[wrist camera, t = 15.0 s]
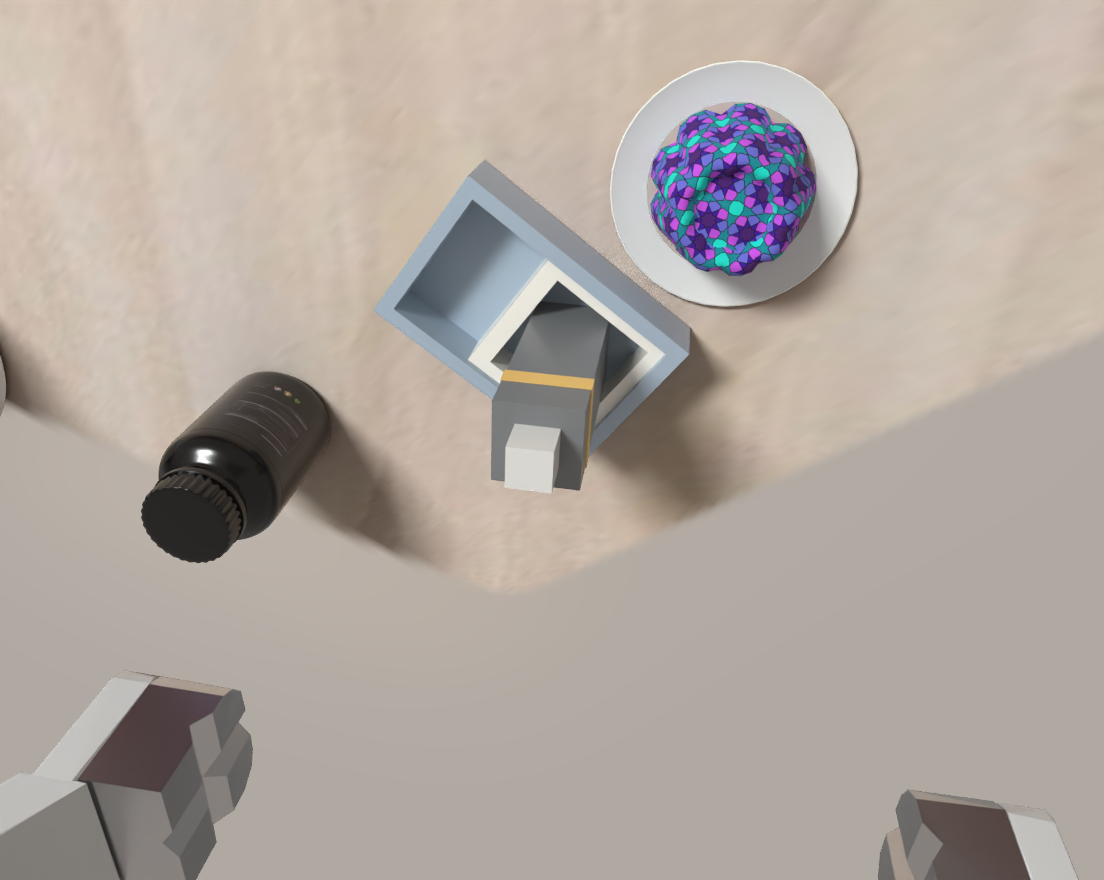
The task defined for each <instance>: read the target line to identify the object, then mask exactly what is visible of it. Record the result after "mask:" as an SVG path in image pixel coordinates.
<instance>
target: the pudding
mask: <svg viewBox="0 0 1104 880" xmlns="http://www.w3.org/2000/svg"><path fill="white" fill-rule="evenodd" d="M735 101H737V102H750V103H744V104H735V105H734V106H732V107H731V108H730V109H728V110H727V111H726V112H725V113H723V114H722V115H720V114H717V113H714V112H711V111H707V110H705V111H702V112H699V113H696V114H693V113H695V112H697V111H699V110H701V109H703V108H705V107H709V106H712V105H715V104H719V103H726V102H735ZM752 103H755V104H758V105H762V106H766V107H768V108H770V109H772V110H774V111H776V112H778V113H780V114H781V115H783V116H784V117H785V118H787V119H788V120H789V121H791V122H792V123H793V124H794V125H795V126H796V128H797V129H798V130H799V131H800V132H801V133H802V135H803V137H804V138H805V140H806V141H807V143H808V145H809V147H810V150H811V152H812V155H813V158H814V162H815V168H816V174H817V182H816V188H815V178H814V174H813V173H812V172H811V171H810V170H809V169H808V168H807V167H806V166H805V165H804V164H803V161H804V157H805V153H806V148H807V146H806V144H805V142H804V139H803V137H802V135H801V133H800V132H799V131H798V130H796V129H795V128H794V127H793V126H792V125H791V124H781V123H772V121H771V119H770V117H769V116H768V114H767V112H766V110H765V109H764V108H762V107H759V106H757V105H754V104H752ZM691 114H693V115H691ZM690 115H691V116H690ZM688 116H690V117H689V118H688V119H687V120H686V121H685V122H684V123H682V124H681V125H680V128H679V132H678V136H677V140H676V142H675V143H673V144H671V145H669V146H666V147H664V148H662V149H661V150H660V151H659V153H658V154H657V156H656V158H655V159H654V161H653V165H652V172H651V178H652V180H653V182H654V184H655V186H656V188H657V190H658V191H657V193H656V195H655V197H654V198H653V200H652V202H651V204H650V205H651V212H652V218H653V220H654V222H655V223H656V225H657V227H658V228H659V230H660V231H661V232H662V233H663V234H664V235H665V236H666V237H667V238H668V239H669V240H670V241H671V242H672V243H673V244H675V246H676V250H677V251H678V252H679V253H680V254H681V255H682V256H683V257H684V258H685V259H687V260H688V261H689V262H688V261H686V260H684V259H683V258H682V257H680V256H679V255H677V254H676V253H674V252H673V251H672V250H671V249H670V248H669V247H668V246H667V245H666V244H665V243H664V241H663V240H662V238H661V237H660V235H659V234H658V233H657V231H656V229H655V227H654V224H653V222H652V220H651V217H650V213H649V209H648V205H647V192H646V189H647V179H648V174H649V170H650V166H651V163H652V160H653V158H654V156H655V154H656V152H657V150H658V147H659V146H660V145H661V143H662V142H663V140H664V139H665V137H666V136H667V135H668V134H669V133H670V132H671V131H672V130H673V129H674V128H675V127H676V125H677V124H679V123H680V122H681V121H683V120H684V119H685V118H687V117H688ZM857 176H858V167H857V160H856V153H855V147H854V144H853V141H852V138H851V135H850V132H849V129H848V127H847V125H846V123H845V121H844V120H843V118H842V116H841V114H840V113H839V111H838V109H837V108H836V106H835V105H834V104H833V103H832V102H831V101H830V100H829V98H828V97H827V96H826V95H825V94H824V93H823V92H822V91H821V90H820V89H819V88H817V87H816V86H815V85H813V84H812V83H811V82H809V81H808V80H807V79H805V78H804V77H802V76H800V75H798V74H796V73H794V72H792V71H790V70H788V69H786V68H784V67H780V66H776V65H772V64H768V63H764V62H758V61H742V60H737V61H728V62H720V63H714V64H711V65H708V66H704V67H701V68H698V69H695V70H692V71H690V72H688V73H686V74H684V75H683V76H681V77H679V78H677V79H675V80H673V81H671V82H670V83H669V84H667V85H666V86H665V87H664V88H662V89H661V90H660V91H658V92H657V93H656V94H654V95H653V96H652V97H651V98H650V100H649V101H648V102H647V103H646V104H645V105H644V106H643V107H642V108H641V109H640V110H639V111H638V113H637V114H636V116H635V117H634V119H633V120H632V122H631V123H630V125H629V126H628V128H627V129H626V131H625V133H624V136H623V138H622V140H621V142H620V145H619V147H618V149H617V152H616V156H615V160H614V164H613V168H612V172H611V185H610V199H611V210H612V216H613V219H614V223H615V227H616V230H617V233H618V236H619V238H620V240H621V242H622V244H623V246H624V248H625V250H626V252H627V253H628V255H629V256H630V257H631V259H632V260H633V262H634V263H635V264H636V266H637V267H638V268H639V269H640V270H641V271H642V272H643V273H644V274H645V275H646V276H647V277H648V278H649V279H650V280H651V281H653V282H654V283H655V284H657V285H658V286H660V287H661V288H663V289H664V290H666V291H667V292H669V293H671V294H674V295H676V296H678V297H680V298H682V299H685V300H688V301H692V302H696V303H699V304H703V305H712V306H722V307H727V306H741V305H748V304H752V303H756V302H761V301H765V300H767V299H770V298H772V297H775V296H777V295H779V294H782V293H784V292H786V291H787V290H789V289H791V288H792V287H794V286H796V285H797V284H799V283H801V282H802V281H803V280H805V279H806V278H807V277H808V276H809V275H811V274H812V273H813V272H814V271H815V270H817V269H818V268H819V267H820V265H821V264H822V263H823V262H824V261H825V260H826V258H827V257H828V256H829V255H830V254H831V253H832V252H833V250H834V248H835V247H836V245H837V243H838V242H839V240H840V239H841V237H842V235H843V234H844V232H845V229H846V227H847V224H848V222H849V219H850V217H851V214H852V211H853V207H854V202H855V198H856V193H857ZM815 190H816V194H815V199H814V204H813V207H812V209H811V212H810V215H809V217H808V219H807V221H806V223H805V225H804V226H803V228H802V230H801V231H800V233H799V234H798V235H797V236H796V237H795V239H794V240H793V241H792V239H793V238H794V236H795V234H796V233H797V231H798V230H799V229H798V224H799V223H800V221H801V219H802V218H803V216H804V214H805V213H806V211H807V209H808V208H809V206H810V204H811V202H812V199H813V196H814V193H815ZM791 241H792V242H791ZM790 242H791V243H790ZM759 262H763V263H760V264H759ZM717 269H721V270H722V271H721V270H717Z"/></svg>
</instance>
